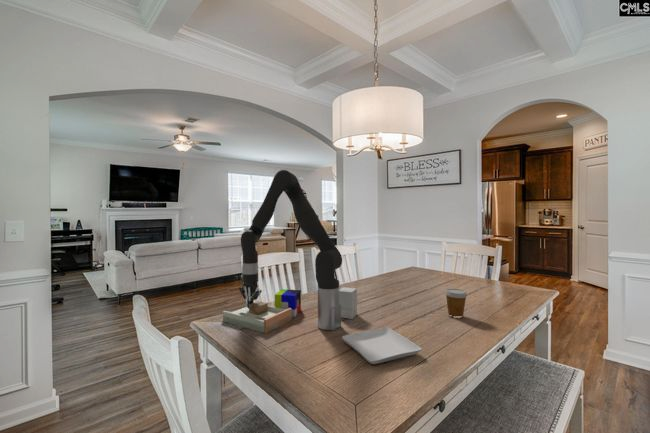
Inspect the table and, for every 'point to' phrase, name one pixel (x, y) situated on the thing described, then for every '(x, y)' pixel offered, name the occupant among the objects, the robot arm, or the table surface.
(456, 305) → the disposable coffee cup
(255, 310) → the walnut block
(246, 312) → the box
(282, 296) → the puzzle toy
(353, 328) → the table surface
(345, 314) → the supplement box
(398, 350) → the salad plate
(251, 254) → the robot arm
